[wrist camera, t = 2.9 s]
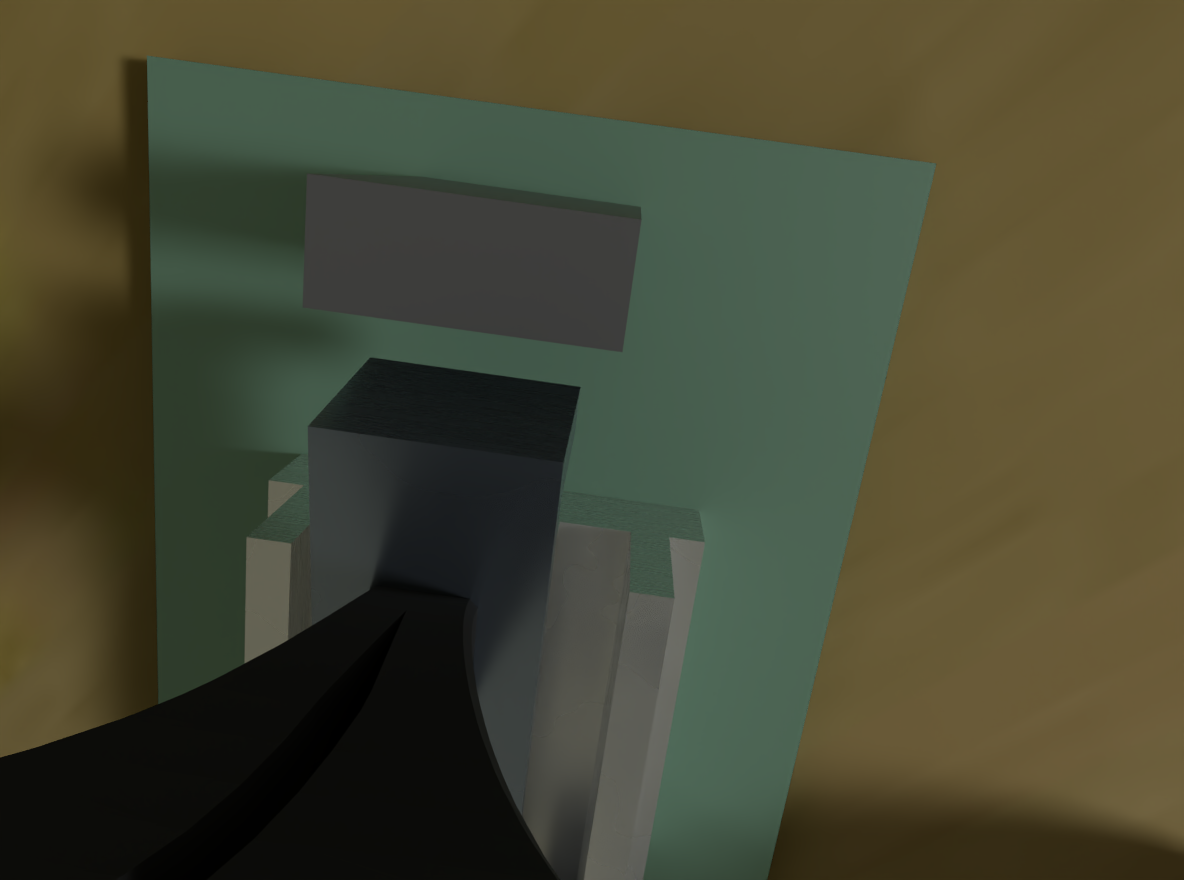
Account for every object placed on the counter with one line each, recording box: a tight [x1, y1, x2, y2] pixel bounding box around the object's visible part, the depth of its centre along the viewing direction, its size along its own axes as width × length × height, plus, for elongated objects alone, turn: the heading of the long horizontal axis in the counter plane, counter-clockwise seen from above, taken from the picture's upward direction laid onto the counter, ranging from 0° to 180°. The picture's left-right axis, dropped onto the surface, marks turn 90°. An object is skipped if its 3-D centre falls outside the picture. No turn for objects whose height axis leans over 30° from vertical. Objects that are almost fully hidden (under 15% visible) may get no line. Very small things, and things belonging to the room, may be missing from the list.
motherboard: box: [147, 56, 936, 880], centre depth 18 cm, size 20×14×1 cm
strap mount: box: [303, 174, 642, 352], centre depth 15 cm, size 15×6×6 cm, turn 172°
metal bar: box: [308, 357, 581, 816], centre depth 14 cm, size 13×3×3 cm, turn 173°
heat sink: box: [245, 454, 705, 880], centre depth 16 cm, size 8×8×4 cm
